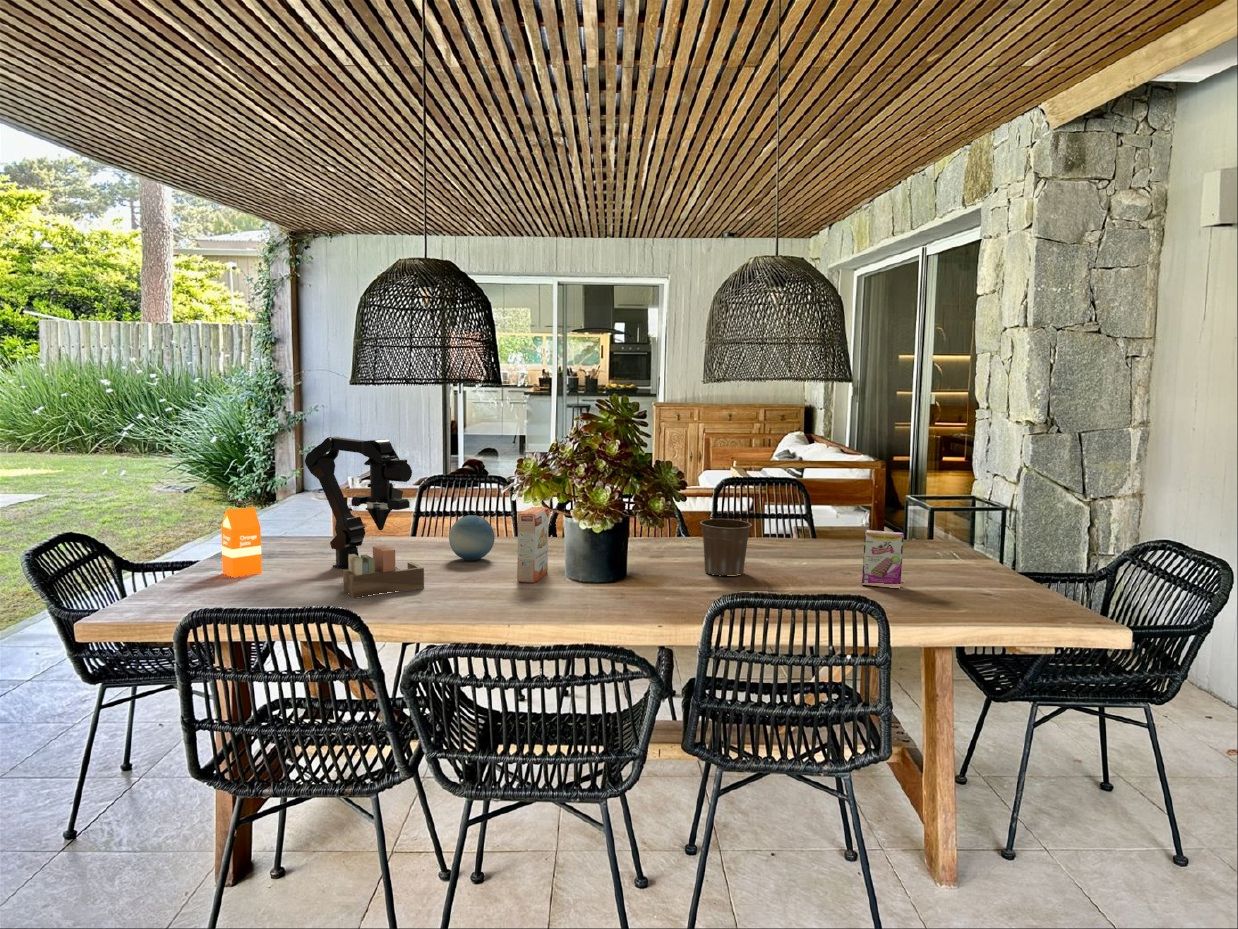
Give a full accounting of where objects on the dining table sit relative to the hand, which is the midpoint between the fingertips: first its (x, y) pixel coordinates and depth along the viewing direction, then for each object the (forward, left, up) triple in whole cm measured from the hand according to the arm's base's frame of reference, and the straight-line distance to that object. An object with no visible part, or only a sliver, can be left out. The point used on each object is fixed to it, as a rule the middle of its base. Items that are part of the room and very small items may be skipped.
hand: (380, 530), depth 254 cm
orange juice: (-35, -22, -13) cm, 43 cm away
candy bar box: (+143, +55, -13) cm, 154 cm away
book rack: (+16, -17, -13) cm, 27 cm away
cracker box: (+46, +15, -13) cm, 50 cm away
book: (+16, -17, -13) cm, 27 cm away
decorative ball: (+15, +27, -13) cm, 34 cm away
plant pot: (+96, +49, -13) cm, 109 cm away
